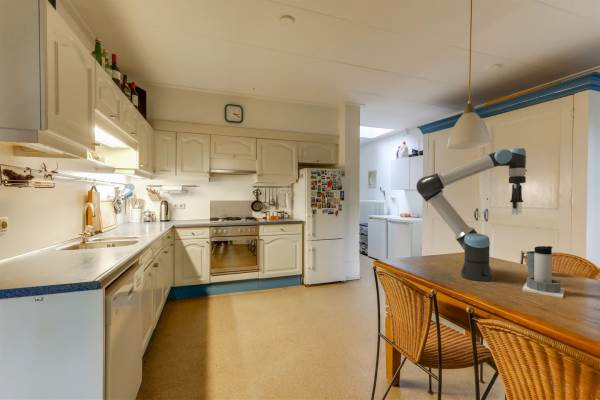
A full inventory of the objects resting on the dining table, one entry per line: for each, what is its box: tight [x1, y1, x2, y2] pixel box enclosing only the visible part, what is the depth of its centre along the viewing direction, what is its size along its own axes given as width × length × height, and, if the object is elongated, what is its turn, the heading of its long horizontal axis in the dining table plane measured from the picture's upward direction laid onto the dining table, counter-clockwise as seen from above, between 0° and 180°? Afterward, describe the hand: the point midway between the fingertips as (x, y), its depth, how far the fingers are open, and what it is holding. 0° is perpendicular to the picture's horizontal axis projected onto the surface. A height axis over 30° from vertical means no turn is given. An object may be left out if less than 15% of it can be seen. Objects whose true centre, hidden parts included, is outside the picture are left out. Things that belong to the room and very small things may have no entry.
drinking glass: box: [525, 250, 535, 275], centre depth 162 cm, size 10×10×12 cm
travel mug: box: [533, 245, 553, 283], centre depth 132 cm, size 6×7×20 cm
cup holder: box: [521, 275, 565, 299], centre depth 132 cm, size 14×14×5 cm
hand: (516, 214), depth 157 cm, fingers open, 13 cm apart
